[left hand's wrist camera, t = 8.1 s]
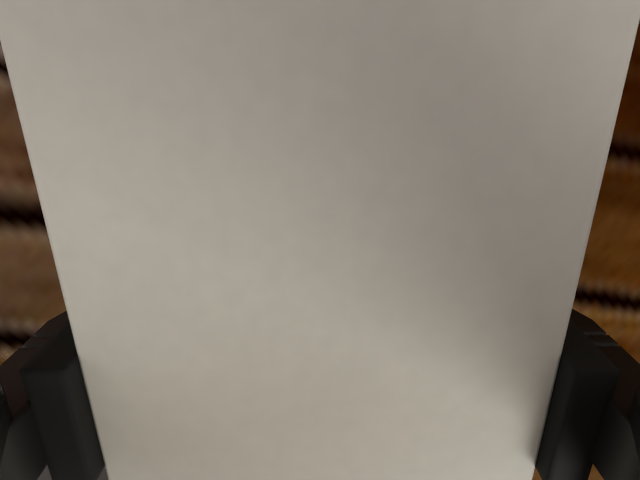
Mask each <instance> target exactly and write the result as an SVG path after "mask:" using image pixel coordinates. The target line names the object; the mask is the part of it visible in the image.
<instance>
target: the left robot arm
mask: <svg viewBox="0 0 640 480" xmlns="http://www.w3.org/2000/svg"><path fill="white" fill-rule="evenodd" d="M22 346H23V347H22V348H19V349H18V350H17V351H16V352H15V353H14V354H13V355H12V356H11V357H9V358H8V359H7V360H6V361H5V362H4V363H3V364H2V365H1V366H0V480H108V476H107V472H106V468H105V464H104V460H103V456H102V451H101V447H100V443H99V439H98V435H97V431H96V427H95V423H94V419H93V415H92V411H91V407H90V403H89V399H88V395H87V390H86V386H85V382H84V378H83V374H82V370H81V366H80V362H79V358H78V354H77V350H76V346H75V342H74V338H73V333H72V329H71V325H70V321H69V317H68V313H67V311H65V312H64V313H62V314H60V315H58V316H56V317H55V318H53V319H51V320H49V321H48V322H47V323H46V324H45V325H43V326H42V327H41V328H40V329H39V330H38V331H37V332H36V333H35V334H34V337H31V338H30V339H29V340H28V341H26V342H25V343H24V344H23V345H22ZM592 464H594V465H595V467H596V468H597V470H598V471H599V473H600V474H601V476H602V477H603V479H604V480H640V364H639V363H638V362H637V361H636V360H635V359H634V358H632V357H631V356H630V355H629V354H628V353H627V352H626V351H625V350H624V349H623V348H622V347H621V346H618V344H617V343H616V342H615V341H614V340H613V339H612V338H611V337H610V336H609V335H606V332H605V331H604V330H603V329H601V328H600V327H599V326H598V325H597V324H596V323H595V322H594V321H593V320H592V319H590V318H588V317H586V316H584V315H583V314H581V313H579V312H577V311H575V310H574V309H572V310H571V314H570V319H569V323H568V327H567V332H566V336H565V340H564V344H563V349H562V353H561V357H560V362H559V366H558V370H557V374H556V379H555V383H554V387H553V392H552V396H551V400H550V404H549V409H548V413H547V417H546V422H545V426H544V430H543V434H542V439H541V443H540V447H539V451H538V456H537V460H536V464H535V467H536V469H537V471H538V472H539V474H540V476H541V478H542V480H588V477H589V474H590V471H591V467H592Z"/></svg>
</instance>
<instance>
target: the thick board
mask: <svg viewBox="0 0 640 480" xmlns="http://www.w3.org/2000/svg"><path fill="white" fill-rule="evenodd" d="M639 19H640V0H0V41H1V45H2V49H3V53H4V57H5V61H6V65H7V69H8V73H9V77H10V81H11V85H12V89H13V93H14V98H15V102H16V106H17V110H18V114H19V118H20V122H21V126H22V130H23V134H24V138H25V142H26V146H27V150H28V154H29V159H30V163H31V167H32V171H33V175H34V179H35V183H36V187H37V191H38V195H39V199H40V203H41V207H42V211H43V215H44V220H45V224H46V228H47V232H48V236H49V240H50V244H51V248H52V252H53V256H54V260H55V264H56V268H57V272H58V277H59V281H60V285H61V289H62V293H63V297H64V301H65V305H66V309H67V313H68V317H69V321H70V325H71V329H72V333H73V338H74V342H75V346H76V350H77V354H78V358H79V362H80V366H81V370H82V374H83V378H84V382H85V386H86V390H87V395H88V399H89V403H90V407H91V411H92V415H93V419H94V423H95V427H96V431H97V435H98V439H99V443H100V447H101V451H102V456H103V460H104V464H105V468H106V472H107V476H108V480H532V477H533V473H534V469H535V464H536V460H537V456H538V451H539V447H540V443H541V439H542V434H543V430H544V426H545V422H546V417H547V413H548V409H549V404H550V400H551V396H552V392H553V387H554V383H555V379H556V374H557V370H558V366H559V362H560V357H561V353H562V349H563V344H564V340H565V336H566V332H567V327H568V323H569V319H570V314H571V310H572V306H573V302H574V297H575V293H576V289H577V285H578V280H579V276H580V272H581V267H582V263H583V259H584V255H585V250H586V246H587V242H588V237H589V233H590V229H591V225H592V220H593V216H594V212H595V207H596V203H597V199H598V195H599V190H600V186H601V182H602V177H603V173H604V169H605V165H606V160H607V156H608V152H609V148H610V143H611V139H612V135H613V130H614V126H615V122H616V118H617V113H618V109H619V105H620V100H621V96H622V92H623V88H624V83H625V79H626V75H627V70H628V66H629V62H630V58H631V53H632V49H633V45H634V40H635V36H636V32H637V28H638V23H639Z"/></svg>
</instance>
